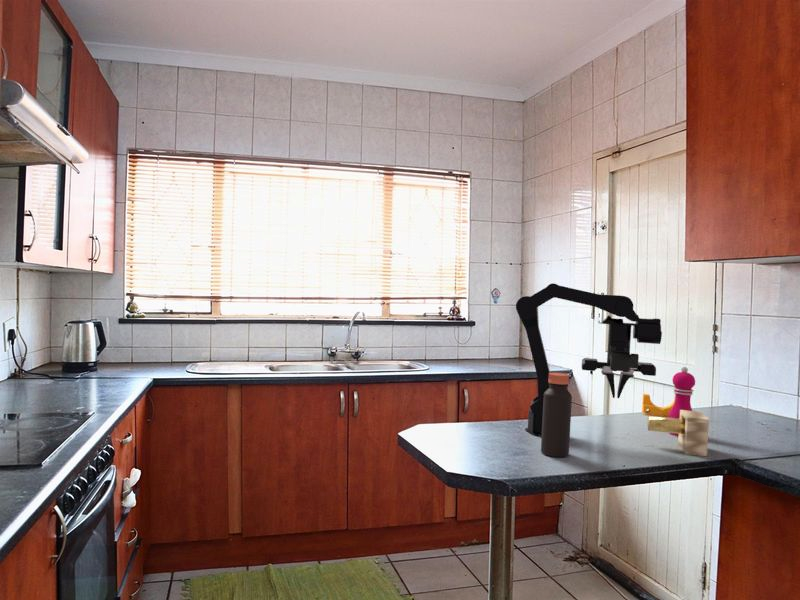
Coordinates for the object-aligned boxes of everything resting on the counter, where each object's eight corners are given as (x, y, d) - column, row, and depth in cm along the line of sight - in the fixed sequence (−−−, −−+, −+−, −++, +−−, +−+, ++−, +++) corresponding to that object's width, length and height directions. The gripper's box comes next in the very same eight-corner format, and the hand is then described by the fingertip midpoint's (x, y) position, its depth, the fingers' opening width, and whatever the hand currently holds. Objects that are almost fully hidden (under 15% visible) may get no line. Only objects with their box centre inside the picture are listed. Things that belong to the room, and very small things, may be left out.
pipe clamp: (643, 414, 195) (644, 396, 195) (641, 412, 199) (643, 393, 199) (682, 418, 191) (683, 399, 191) (680, 416, 196) (681, 397, 195)
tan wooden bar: (649, 432, 154) (650, 417, 154) (647, 428, 158) (647, 414, 158) (702, 437, 150) (703, 422, 150) (699, 434, 154) (700, 419, 154)
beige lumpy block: (685, 453, 149) (687, 417, 149) (678, 443, 158) (680, 409, 158) (706, 456, 147) (709, 419, 147) (697, 446, 157) (700, 411, 157)
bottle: (538, 449, 147) (542, 371, 147) (564, 450, 147) (569, 372, 146) (543, 457, 140) (548, 375, 140) (571, 458, 140) (576, 377, 140)
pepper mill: (697, 435, 170) (701, 367, 169) (689, 439, 164) (694, 369, 164) (671, 429, 174) (675, 364, 174) (663, 433, 169) (667, 366, 169)
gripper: (584, 341, 152) (581, 400, 153) (661, 346, 147) (657, 407, 147) (583, 338, 163) (580, 392, 163) (654, 342, 158) (650, 399, 158)
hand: (615, 397), depth 158 cm, fingers closed
